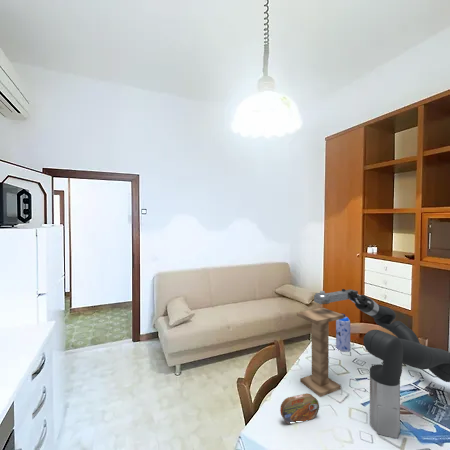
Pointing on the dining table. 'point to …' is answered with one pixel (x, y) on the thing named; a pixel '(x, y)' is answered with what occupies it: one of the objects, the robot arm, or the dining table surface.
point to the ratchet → (332, 296)
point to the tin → (299, 408)
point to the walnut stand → (320, 350)
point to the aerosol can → (343, 334)
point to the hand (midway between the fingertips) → (346, 291)
